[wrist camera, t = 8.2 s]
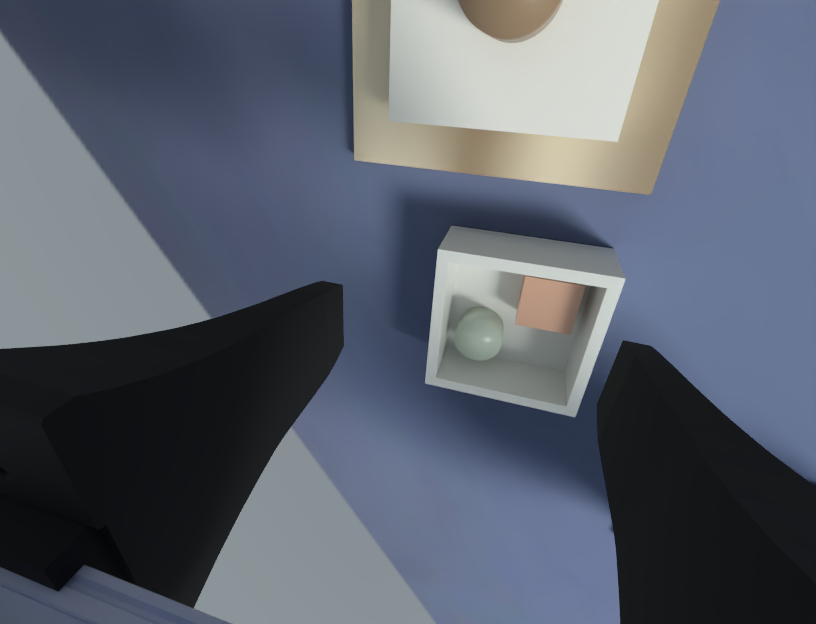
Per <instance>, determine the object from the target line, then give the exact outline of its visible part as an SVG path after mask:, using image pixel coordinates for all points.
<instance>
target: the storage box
mask: <svg viewBox="0 0 816 624" xmlns="http://www.w3.org/2000/svg"><path fill="white" fill-rule="evenodd" d="M625 279H626V278H625V275H624V273H623V270H622V268H621V265H620V263H619V260H618V258H617V255H616V252H615V250H614V249H612V248H605V247H598V246H591V245H584V244H577V243H570V242H563V241H557V240H550V239H543V238H536V237H529V236H522V235H515V234H508V233H501V232H494V231H487V230H480V229H473V228H466V227H459V226H451V227H450V229H449V231H448V233H447V234H446V236H445V238H444V239H443V241H442V243H441V245H440V246H439V248H438V253H437V263H436V274H435V284H434V294H433V305H432V315H431V325H430V336H429V346H428V356H427V367H426V377H425V384H430V385H434V386H438V387H443V388H447V389H452V390H456V391H461V392H465V393H469V394H474V395H478V396H483V397H487V398H491V399H496V400H500V401H505V402H509V403H514V404H518V405H522V406H527V407H531V408H536V409H540V410H544V411H549V412H553V413H558V414H562V415H567V416H571V417H576V414H577V412H578V409H579V406H580V403H581V401H582V398H583V395H584V392H585V390H586V387H587V384H588V381H589V378H590V376H591V373H592V370H593V367H594V365H595V362H596V359H597V356H598V354H599V351H600V348H601V345H602V343H603V340H604V337H605V334H606V332H607V329H608V326H609V323H610V321H611V318H612V315H613V312H614V309H615V307H616V304H617V301H618V298H619V296H620V293H621V290H622V287H623V285H624V282H625Z"/></svg>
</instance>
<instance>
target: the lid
mask: <svg viewBox="0 0 816 624" xmlns="http://www.w3.org/2000/svg"><path fill="white" fill-rule="evenodd" d="M658 2H659V0H391V27H390V71H389V114H388V121H393V122H404V123H415V124H426V125H437V126H448V127H459V128H470V129H481V130H492V131H503V132H514V133H525V134H536V135H547V136H558V137H569V138H580V139H591V140H602V141H613V142H618V139H619V136H620V132H621V129H622V126H623V122H624V119H625V115H626V112H627V108H628V105H629V102H630V98H631V95H632V91H633V88H634V84H635V81H636V78H637V74H638V71H639V67H640V64H641V61H642V57H643V54H644V50H645V47H646V43H647V40H648V37H649V33H650V30H651V26H652V23H653V19H654V16H655V13H656V9H657V6H658Z"/></svg>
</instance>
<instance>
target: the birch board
mask: <svg viewBox="0 0 816 624" xmlns="http://www.w3.org/2000/svg"><path fill="white" fill-rule="evenodd" d="M719 2H720V0H659V2H658V6H657V9H656V13H655V16H654V19H653V23H652V26H651V30H650V33H649V37H648V40H647V43H646V47H645V50H644V54H643V57H642V61H641V64H640V67H639V71H638V74H637V78H636V81H635V84H634V88H633V91H632V95H631V98H630V102H629V105H628V108H627V112H626V115H625V119H624V122H623V126H622V129H621V132H620V136H619V139H618V142H613V141H602V140H591V139H580V138H569V137H558V136H547V135H536V134H525V133H514V132H503V131H492V130H481V129H470V128H459V127H448V126H437V125H426V124H415V123H404V122H393V121H388V114H389V71H390V27H391V0H352V40H353V112H354V160H356V161H365V162H374V163H382V164H391V165H399V166H408V167H416V168H425V169H434V170H442V171H451V172H459V173H468V174H476V175H485V176H494V177H502V178H511V179H519V180H528V181H536V182H545V183H554V184H562V185H571V186H579V187H588V188H596V189H605V190H614V191H622V192H631V193H639V194H648V195H651V193H652V190H653V187H654V185H655V182H656V179H657V176H658V173H659V171H660V168H661V165H662V162H663V159H664V157H665V154H666V151H667V148H668V145H669V142H670V140H671V137H672V134H673V131H674V128H675V126H676V123H677V120H678V117H679V114H680V112H681V109H682V106H683V103H684V100H685V98H686V95H687V92H688V89H689V86H690V83H691V81H692V78H693V75H694V72H695V69H696V67H697V64H698V61H699V58H700V55H701V53H702V50H703V47H704V44H705V41H706V39H707V36H708V33H709V30H710V27H711V24H712V22H713V19H714V16H715V13H716V10H717V8H718V5H719Z"/></svg>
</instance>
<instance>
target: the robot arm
mask: <svg viewBox="0 0 816 624" xmlns="http://www.w3.org/2000/svg"><path fill="white" fill-rule="evenodd" d="M343 346H344V335H343V285H340V284H335V283H330V282H325V281H320V282H316V283H313V284H310V285H307V286H304V287H301V288H298V289H296V290H293V291H290V292H288V293H285V294H282V295H280V296H277V297H275V298H272V299H269V300H267V301H264V302H261V303H259V304H256V305H253V306H250V307H247V308H244V309H241V310H238V311H235V312H232V313H229V314H226V315H223V316H220V317H217V318H213V319H210V320H206V321H203V322H199V323H195V324H191V325H187V326H183V327H179V328H174V329H170V330H164V331H159V332H154V333H149V334H143V335H137V336H132V337H126V338H120V339H113V340H105V341H97V342H88V343H79V344H69V345H58V346H43V347H27V348H11V349H0V624H231V623H228V622H226V621H224V620H221V619H218V618H216V617H213V616H211V615H209V614H206V613H204V612H201V611H199V610H196V609H194V606H195V604H196V602H197V600H198V597H199V595H200V593H201V591H202V589H203V587H204V585H205V582H206V580H207V578H208V576H209V574H210V572H211V570H212V568H213V565H214V563H215V561H216V559H217V557H218V555H219V553H220V551H221V549H222V547H223V545H224V543H225V541H226V539H227V537H228V535H229V533H230V531H231V529H232V527H233V525H234V523H235V521H236V520H237V518H238V516H239V514H240V512H241V510H242V508H243V506H244V504H245V503H246V501H247V499H248V497H249V495H250V493H251V491H252V490H253V488H254V486H255V484H256V482H257V481H258V479H259V477H260V475H261V474H262V472H263V470H264V468H265V467H266V465H267V463H268V461H269V460H270V458H271V456H272V455H273V453H274V451H275V449H276V448H277V446H278V445H279V443H280V442H281V440H282V438H283V437H284V436H285V434H286V433H287V431H288V430H289V429H290V427H291V426H292V425H293V423H294V422H295V421H296V419H297V418H298V417H299V415H300V414H301V412H302V411H303V410H304V408H305V407H306V406H307V404H308V403H309V402H310V400H311V399H312V397H313V396H314V395H315V393H316V392H317V390H318V389H319V388H320V386H321V385H322V384H323V382H324V381H325V379H326V378H327V376H328V375H329V373H330V372H331V370H332V368H333V366H334V364H335V362H336V360H337V358H338V356H339V354H340V352H341V350H342V348H343ZM597 429H598V444H599V450H600V456H601V462H602V468H603V473H604V479H605V485H606V490H607V496H608V501H609V507H610V512H611V518H612V524H613V529H614V537H615V545H616V555H617V570H618V585H619V602H620V624H816V487H815V486H814V485H812V484H811V483H810V482H808V481H807V480H806V479H804V478H803V477H802V476H800V475H799V474H798V473H796V472H795V471H794V470H792V469H791V468H790V467H788V466H787V465H786V464H784V463H783V462H782V461H780V460H779V459H778V458H776V457H775V456H774V455H772V454H771V453H770V452H769V451H767V450H766V449H765V448H764V447H762V446H761V445H760V444H759V443H757V442H756V441H755V440H754V439H753V438H751V437H750V436H749V435H748V434H747V433H745V432H744V431H743V430H742V429H741V428H740V427H738V426H737V425H736V424H735V423H734V422H733V421H731V420H730V419H729V418H728V417H727V416H726V415H725V414H724V413H722V412H721V411H720V410H719V409H718V408H717V407H716V406H715V405H714V404H712V403H711V402H710V401H709V400H708V399H707V398H706V397H705V396H704V395H703V394H702V393H701V392H700V391H699V390H698V389H696V388H695V387H694V386H693V385H692V384H691V383H690V382H689V381H688V380H687V379H686V378H685V377H684V376H683V375H682V374H681V373H680V372H679V371H678V370H677V369H676V368H675V367H674V366H673V365H672V364H671V363H670V362H668V361H667V360H666V359H665V358H664V357H663V356H662V355H661V354H660V353H659V352H658V351H656V350H655V349H654V348H653V347H651V346H648V345H643V344H638V343H633V342H628V341H623V342H622V344H621V347H620V349H619V352H618V354H617V357H616V359H615V362H614V364H613V366H612V369H611V371H610V374H609V376H608V379H607V381H606V384H605V386H604V389H603V391H602V394H601V396H600V398H599V401H598V403H597Z"/></svg>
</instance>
